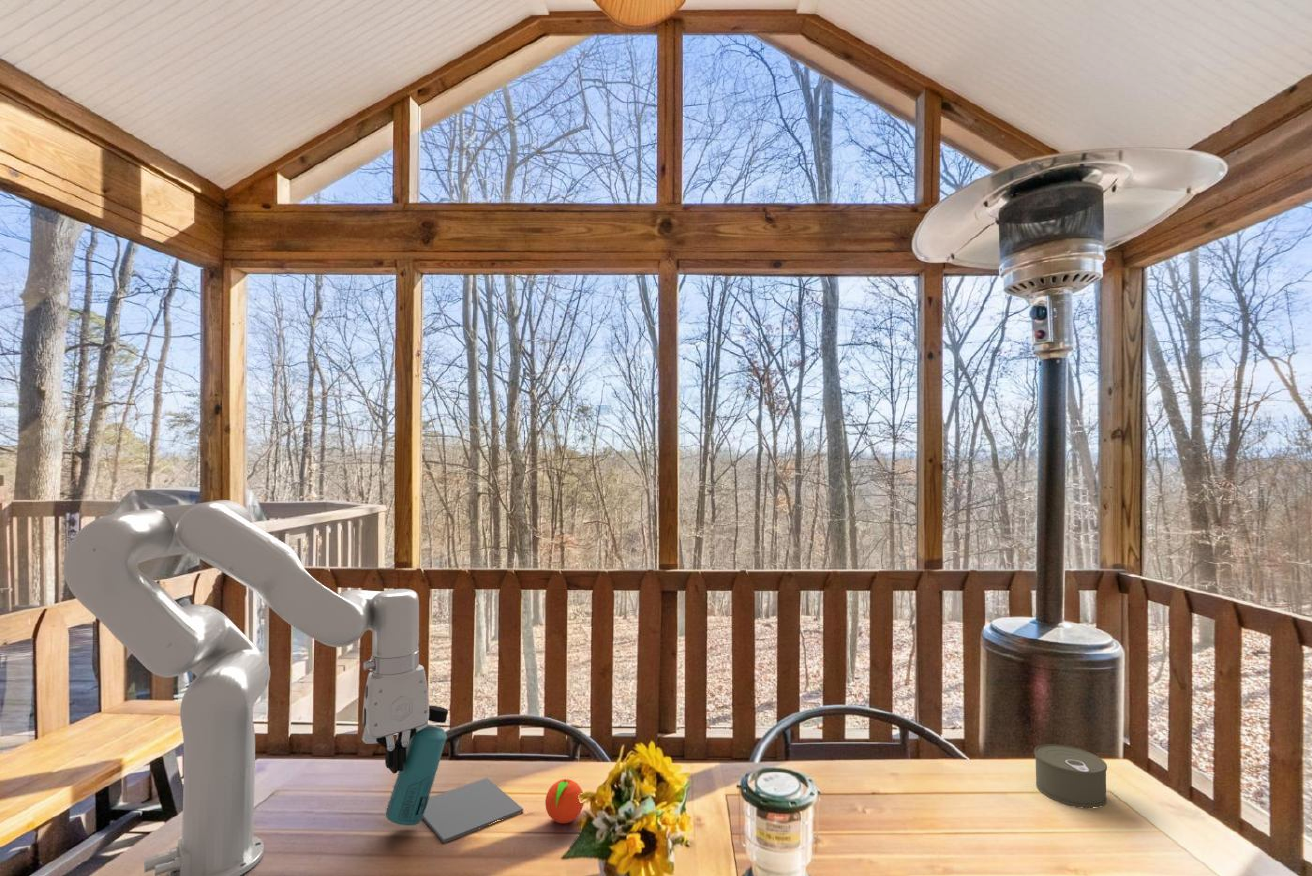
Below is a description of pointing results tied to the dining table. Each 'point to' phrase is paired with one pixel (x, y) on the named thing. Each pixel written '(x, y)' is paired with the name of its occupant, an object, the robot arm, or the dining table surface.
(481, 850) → the dining table surface
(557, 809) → the clementine
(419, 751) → the beverage bottle
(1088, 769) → the can
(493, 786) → the mat
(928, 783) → the dining table surface
